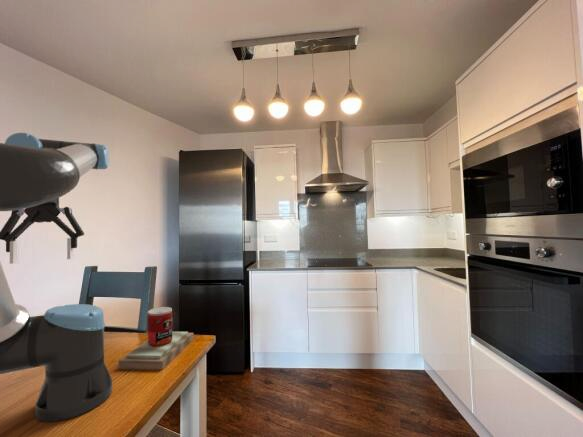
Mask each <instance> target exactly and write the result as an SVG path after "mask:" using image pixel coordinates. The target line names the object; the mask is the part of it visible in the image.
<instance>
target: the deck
mask: <svg viewBox="0 0 583 437" xmlns="http://www.w3.org/2000/svg"><path fill="white" fill-rule="evenodd" d="M194 340H195V334H194V332H189V331H172V341H171V342H170V343H169V344H167V345H164V346H159V347H152V346H150V345H149V344H148V339H147V340H146V341H145V342H143V343H142V344H140V345H138V347H136V348H135V349H133V350H132V351H130V352H129V353H128V354H127V355H125V356H123V357H122V358H121V359H119V360H118V370H144V371H145V370H151V371H152V370H153V371H155V370H156V371H158V370H159V371H163V370H164V369H165V368H166V367H167V366H169V365H170V364H171V362H172V361H173V360H174V359H176V358H177V356H178V355H180V354H181V352H182V351H184V350H185V349H186V348H187V347H188V345H190V344H192V342H193V341H194Z"/></svg>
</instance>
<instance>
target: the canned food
mask: <svg viewBox="0 0 583 437" xmlns="http://www.w3.org/2000/svg"><path fill="white" fill-rule="evenodd" d="M172 332H173V308H172V307H169V306H160V307H155V308H151V309H149V310H148V311H147V340H148V344H149V345H150V346H152V347H159V346H164V345H167V344H169V343H170V342H171V341H172Z"/></svg>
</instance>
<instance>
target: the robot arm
mask: <svg viewBox="0 0 583 437" xmlns="http://www.w3.org/2000/svg"><path fill="white" fill-rule="evenodd" d="M4 141H5V142H4V143H3V142H0V212H11V214H10V216H9V218H8V219H7V221H6V222H5V223H4V225H3V227H2V229H1V230H0V240H1V241H4V242H5V252H6V253H9V265H10V264H11V265H12V264H19V241H18V240H17V239H18V238H19V237H20V236H21V235H22V234H23V233H24V232H25V231H26V230H28V228H30V227H31V226H32V225H33V224H34V223H37V224H38V223H40V224H42V223H51V222H53V223H54V224H55V225H56V226H58V228H60V229H61V230H62V231H63V232H64V233H66V234H67V236H69V237H68V238H67V239H66V240H67V241H66V244H67V245H66V247H67V248H66V250H67V252H66V253H67V254H66V256H67V257H66V258H67V260H73V259H74V253H75V252H74V249H77V248H78V238H79V237H82V236H85V232H84V230H83V229H82V227H81V226H80V224H79V223H78V221H77V220H76V218H75V216H74V215H73V210H72V208H71V207H68V206H65V207H61V208H60V198H61V197H63V196H65V195H67V194H69V193H70V192H71V191H72V190H74V189H75V188H76V186H77V185H78V184H79V181H80V179H81V177H82V176H84V175H85V174H86V173H88V172H89V171H90V170H107V169H108V167H109V161H110V159H109V150H108V148H107V146H106V145H104V144H99V143H98V144H97V143H86V142H78V141H77V142H76V141H64V140H56V139H55V140H54V139H43V138H38V137H36V136H34V135H33V134H30V133H27V132H16V133H13V134H11V135H9V136H8V137H7V138H6V139H5V140H4ZM24 214H25V215H26V217H25V218H24V219H23V220H22V222H21V223H20V224H19V225H18V226H17V227H16V225H17V224H18V222H19V220H20V219H21V217H23V215H24ZM60 214H63V215H65V217H66V219H67V220H68V222H69V224H70V225H71V227H72V228H70V227H69V226H68V225H67V224H66V223H65V222H63V221H62V219H61V218H60V217H58V216H59V215H60ZM15 227H16V228H15ZM14 228H15V229H14ZM72 229H73V230H74V231H73V230H72ZM12 294H13V293H12V291H11V287H10V286H9V283H8V280H7V277H6V273H5V271H4V268H3V266H2V263H1V262H0V375H3V374H9V373H13V372H18V371H24V370H29V369H34V368H40V367H44V369H45V371H44V372H45V376H44V377H45V378H44V381H43V384H42V385H41V388H40V391H39V394H38V397H37V399H36V401H35V402H36V403H35V406H34V409H35V410H34V413H35V414H34V415H35V418H36V419H37V420H38V421H40V422H47V423H48V422H49V423H51V422H59V421H64V420H68V419H72V418H74V417H78V416H80V415H83V414H85V413H87V412H90V411H92V410H93V409H95V408H97V407H99V406H100V405H101V404H103V403H105V401H107V399H109V397H110V396H111V395H112V393H113V380H112V377H111V374H110V373H109V370H108V368H107V366H106V363H105V327H106V324H105V319H104V317H105V316H104V310H103V309H102V308H101V307H99V306H96V305H94V304H83V303H80V304H79V303H76V304H74V303H73V304H65V305H58V306H54V307H51V308H48V309H47V310H46V311H45V313H44V314H42V315H34V316H30V313H29V311H28V309H27V308H26V307H25V306H23V305H21V304H17V303H16V302H15V300H14V297H13V295H12Z"/></svg>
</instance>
